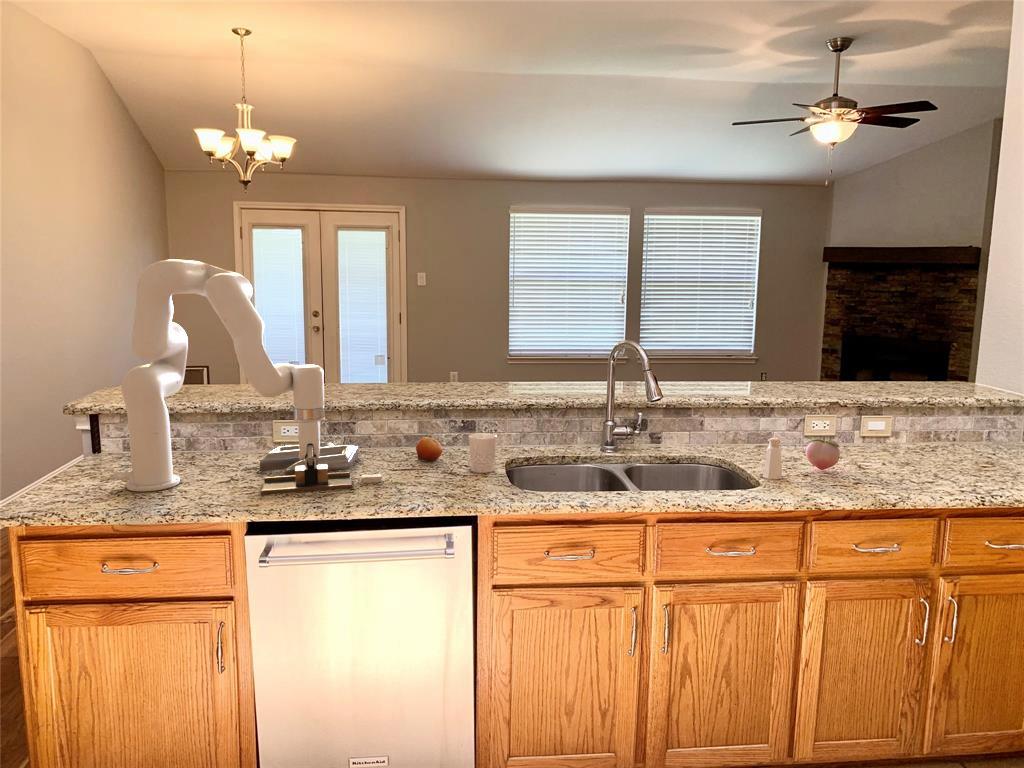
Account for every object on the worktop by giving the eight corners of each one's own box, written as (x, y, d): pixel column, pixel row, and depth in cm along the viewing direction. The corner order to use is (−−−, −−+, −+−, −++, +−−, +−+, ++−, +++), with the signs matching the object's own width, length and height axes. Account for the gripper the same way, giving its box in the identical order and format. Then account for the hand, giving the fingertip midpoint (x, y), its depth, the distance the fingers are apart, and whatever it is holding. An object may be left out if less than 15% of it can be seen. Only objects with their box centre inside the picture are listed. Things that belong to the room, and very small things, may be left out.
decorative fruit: (842, 469, 206) (844, 436, 204) (835, 475, 199) (838, 441, 198) (808, 464, 211) (811, 431, 210) (801, 469, 205) (803, 436, 203)
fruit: (412, 451, 215) (425, 430, 213) (434, 465, 215) (447, 443, 214) (407, 458, 207) (421, 436, 206) (430, 472, 207) (444, 450, 206)
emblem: (308, 466, 183) (238, 451, 197) (309, 486, 184) (239, 470, 198) (380, 445, 207) (313, 433, 221) (381, 462, 207) (314, 450, 221)
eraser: (295, 487, 178) (295, 470, 177) (296, 482, 182) (295, 466, 182) (328, 485, 180) (327, 468, 180) (327, 480, 185) (327, 464, 184)
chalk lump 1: (362, 486, 184) (362, 477, 183) (361, 484, 186) (361, 475, 186) (371, 486, 184) (371, 476, 184) (371, 483, 187) (371, 474, 186)
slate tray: (261, 499, 173) (261, 490, 172) (264, 485, 184) (264, 477, 184) (352, 492, 179) (352, 484, 178) (350, 479, 190) (350, 471, 190)
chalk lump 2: (371, 477, 184) (381, 476, 184) (371, 474, 186) (380, 473, 187) (372, 486, 184) (381, 485, 185) (371, 483, 187) (380, 483, 187)
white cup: (478, 475, 196) (478, 440, 194) (463, 468, 202) (463, 435, 200) (501, 470, 200) (501, 436, 199) (486, 464, 206) (486, 431, 205)
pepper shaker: (758, 476, 197) (761, 438, 195) (767, 473, 201) (769, 435, 199) (777, 480, 193) (780, 442, 192) (785, 477, 197) (788, 438, 196)
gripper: (294, 408, 186) (297, 471, 188) (293, 421, 169) (295, 490, 172) (324, 407, 188) (325, 469, 190) (325, 419, 171) (327, 488, 174)
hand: (311, 479), depth 181 cm, fingers open, 8 cm apart
